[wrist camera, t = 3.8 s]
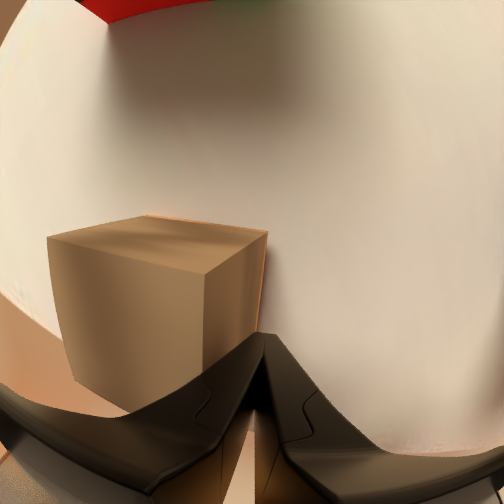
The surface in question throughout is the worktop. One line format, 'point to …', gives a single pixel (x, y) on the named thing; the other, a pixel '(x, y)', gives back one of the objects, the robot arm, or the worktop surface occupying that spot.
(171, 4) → the puzzle toy
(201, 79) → the worktop surface
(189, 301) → the walnut cube
